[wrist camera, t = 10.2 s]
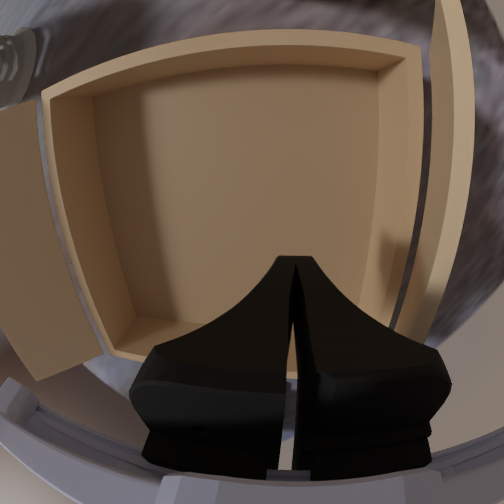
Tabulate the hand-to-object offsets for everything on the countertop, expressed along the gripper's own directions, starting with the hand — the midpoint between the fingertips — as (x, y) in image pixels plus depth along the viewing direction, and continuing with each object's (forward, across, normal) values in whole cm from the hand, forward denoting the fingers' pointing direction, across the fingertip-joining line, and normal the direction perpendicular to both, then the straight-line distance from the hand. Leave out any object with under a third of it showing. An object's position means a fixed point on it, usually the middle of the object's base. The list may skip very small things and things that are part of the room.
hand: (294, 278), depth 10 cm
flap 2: (-1, -5, 0) cm, 5 cm away
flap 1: (0, +17, 0) cm, 17 cm away
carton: (+8, +4, 0) cm, 9 cm away
